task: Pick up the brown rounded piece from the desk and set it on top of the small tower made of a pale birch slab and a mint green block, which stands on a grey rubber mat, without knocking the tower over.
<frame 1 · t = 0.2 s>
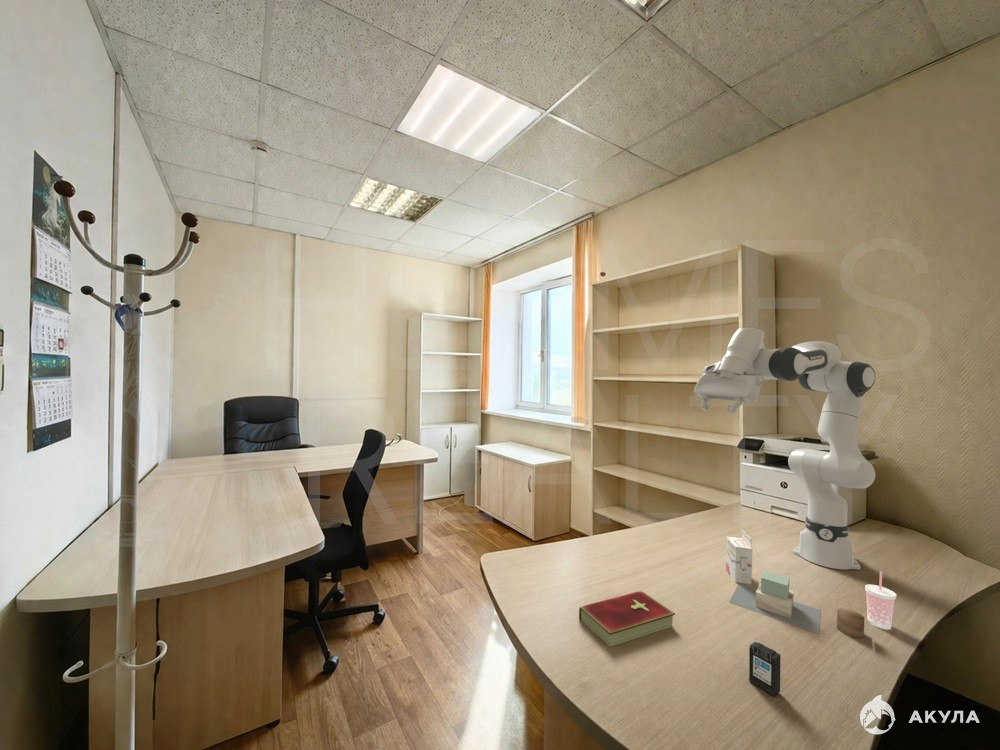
hand: (716, 410, 124), 54 cm above the table, tool tilted 30°, fingers open, 8 cm apart
mat: (774, 607, 112), on the table
brown rounded piece: (850, 633, 102), on the table
ink cartridge box: (737, 579, 129), on the table
beverage cup: (879, 624, 107), on the table
base slab: (774, 606, 112), resting on mat, touching mint green block
mint green block: (775, 591, 112), point 4 cm above the table, touching base slab
hardcover book: (626, 625, 103), on the table
ink cartridge: (763, 688, 83), on the table
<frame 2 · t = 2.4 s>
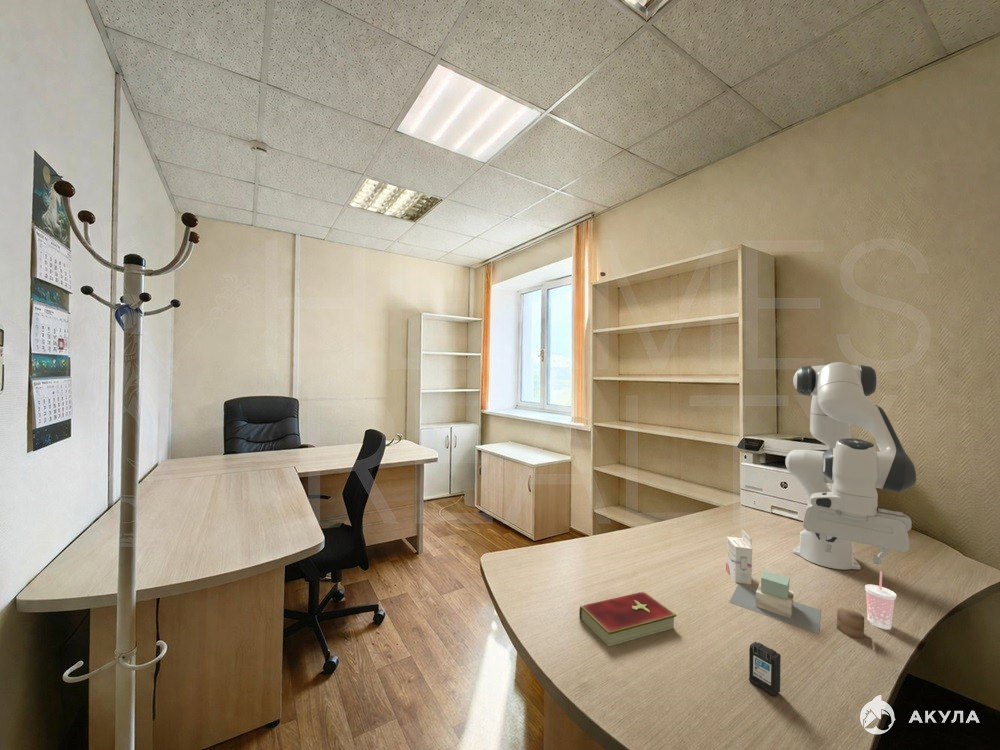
hand: (851, 557, 102), 19 cm above the table, tool pointing down, fingers open, 8 cm apart
nothing on the table moved.
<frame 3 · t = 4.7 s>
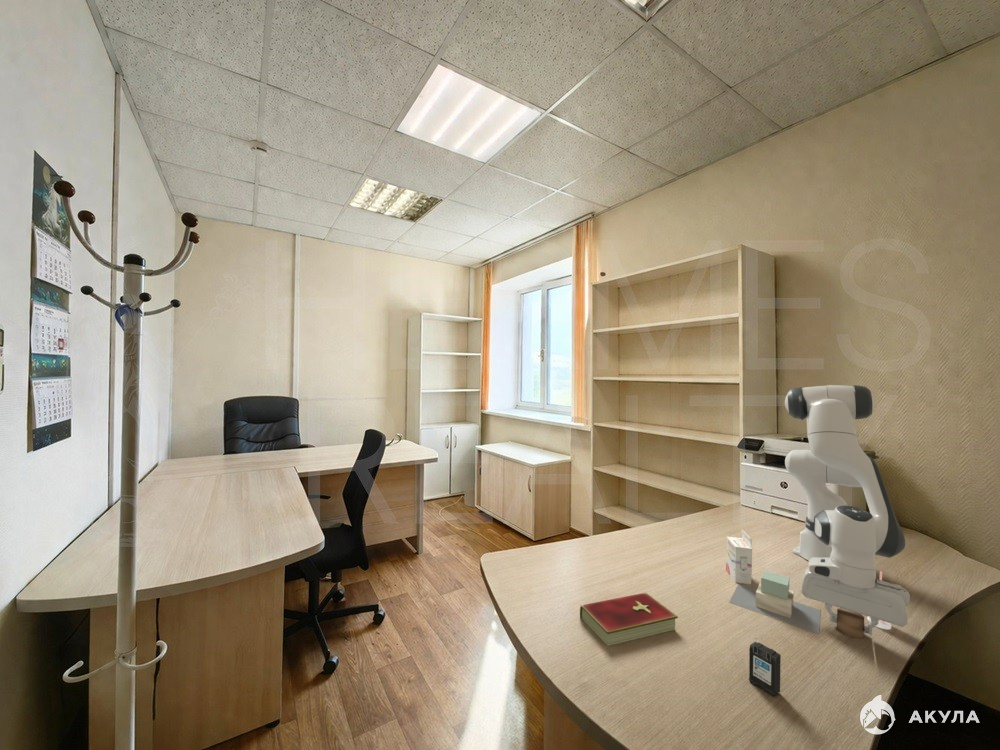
hand: (850, 626, 102), 2 cm above the table, tool pointing down, fingers closed on brown rounded piece, 5 cm apart
brown rounded piece: (849, 633, 102), on the table, touching gripper
everything else where it was.
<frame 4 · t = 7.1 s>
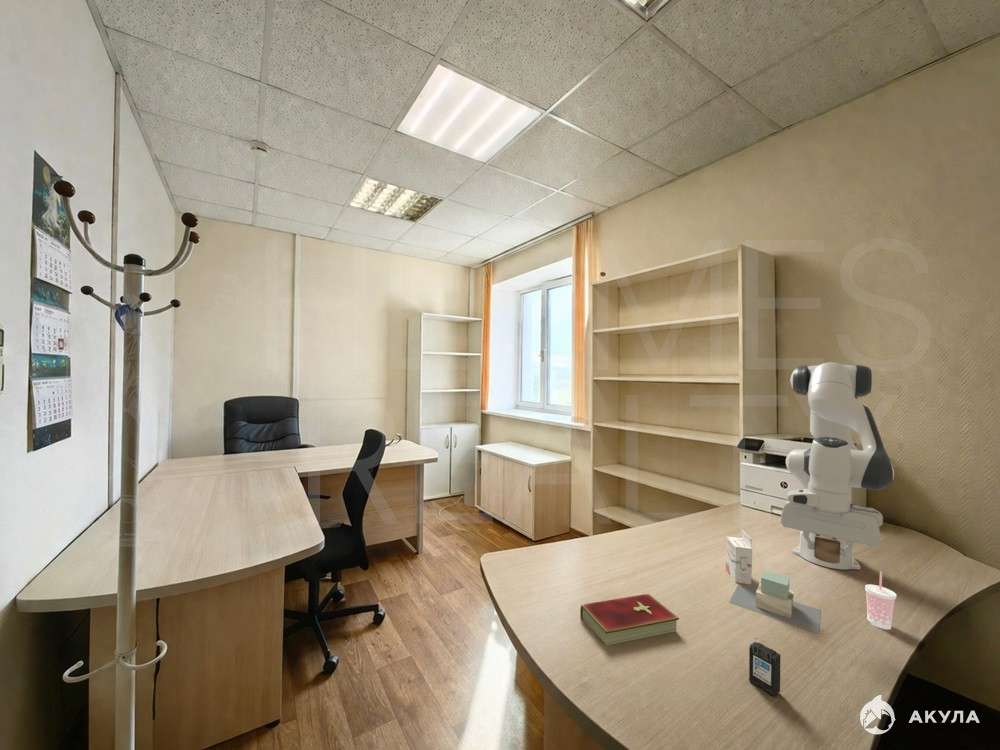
hand: (826, 552, 105), 19 cm above the table, tool pointing down, fingers closed on brown rounded piece, 5 cm apart
brown rounded piece: (826, 558, 105), point 17 cm above the table, touching gripper
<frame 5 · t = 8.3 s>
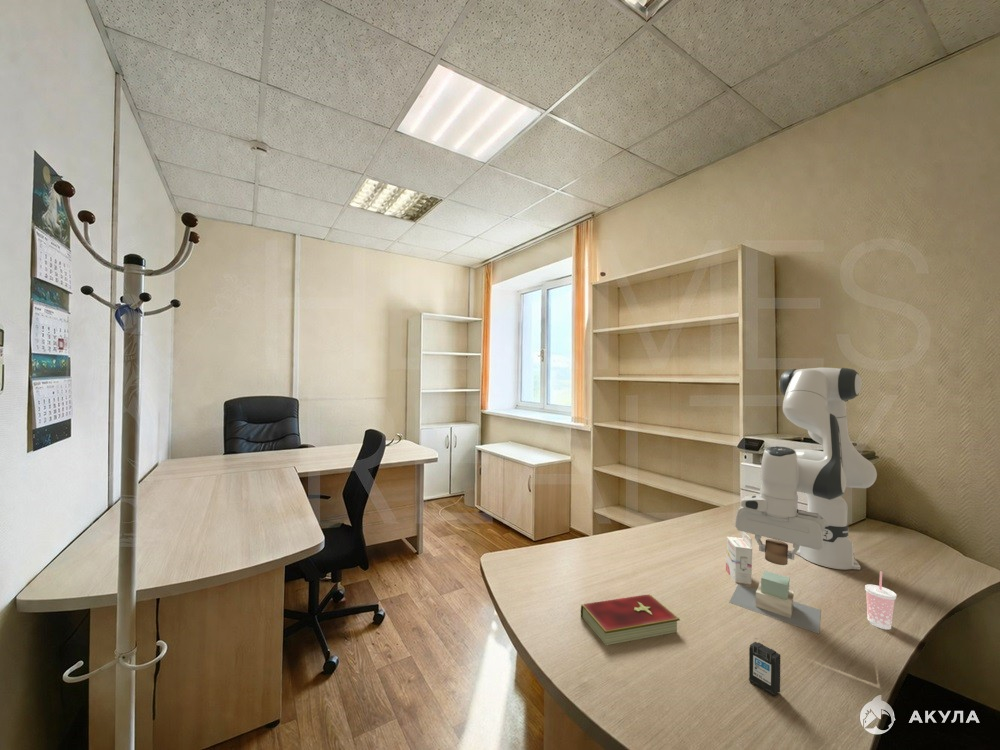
hand: (776, 554, 112), 15 cm above the table, tool pointing down, fingers closed on brown rounded piece, 5 cm apart
brown rounded piece: (776, 560, 112), point 13 cm above the table, touching gripper
when the fingers open (11 cm above the table, at t = 9.5 s): brown rounded piece stays where it is, resting on mint green block.
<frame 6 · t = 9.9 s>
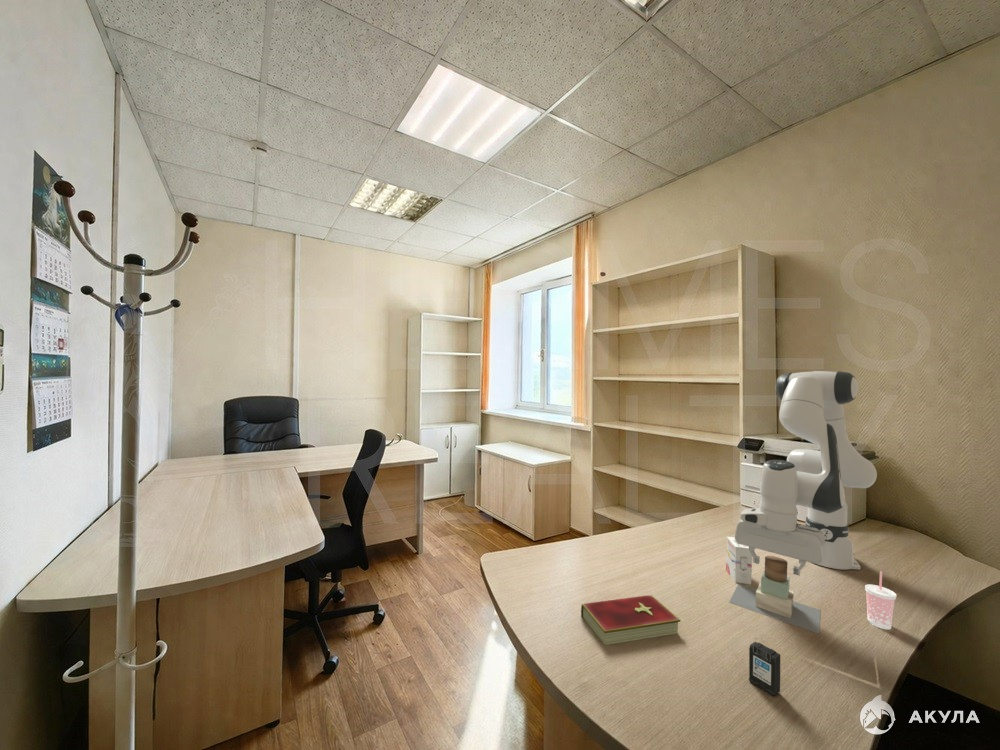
hand: (775, 568, 112), 11 cm above the table, tool pointing down, fingers open, 8 cm apart
brown rounded piece: (775, 577, 112), point 8 cm above the table, touching mint green block
mint green block: (775, 591, 112), point 4 cm above the table, touching base slab, brown rounded piece
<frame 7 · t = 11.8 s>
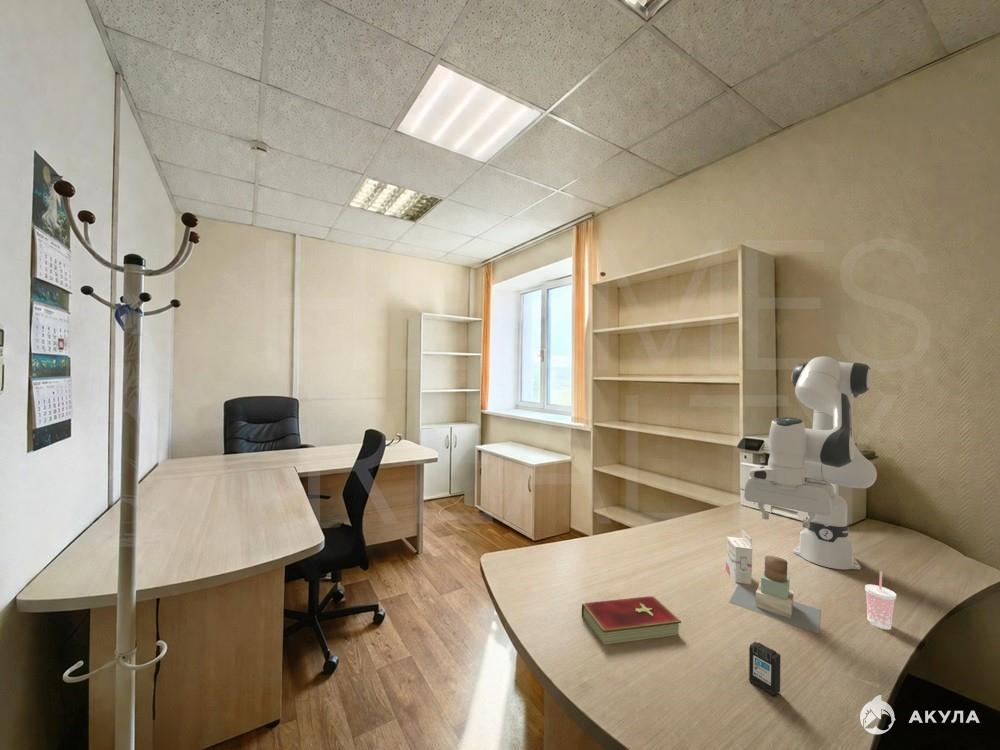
hand: (785, 523, 114), 23 cm above the table, tool pointing down, fingers open, 8 cm apart
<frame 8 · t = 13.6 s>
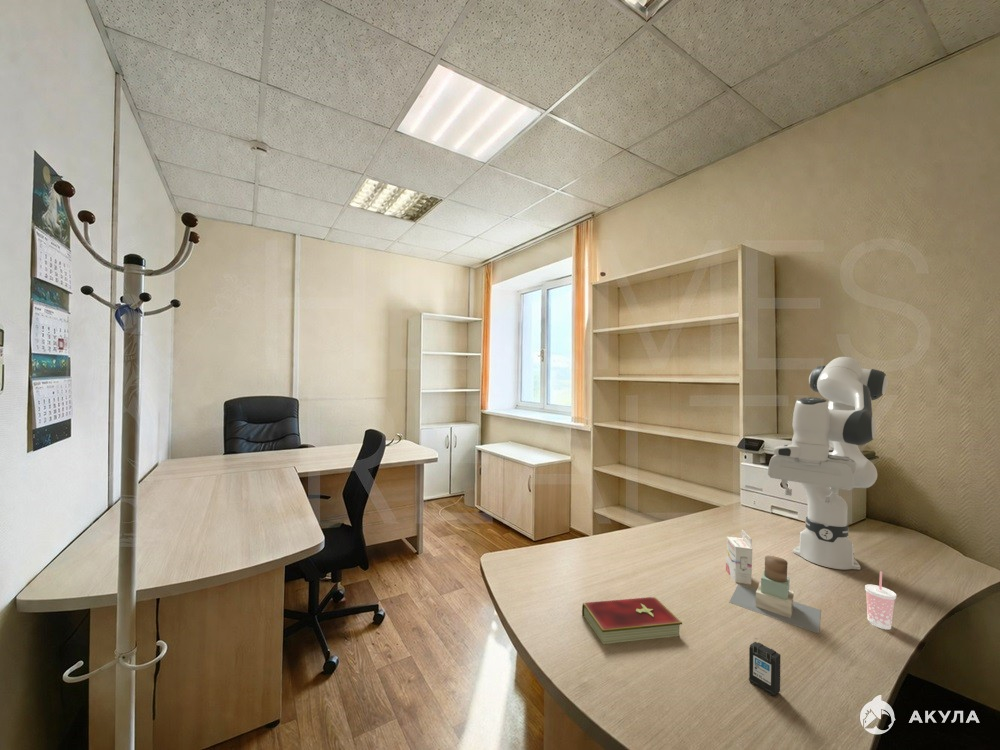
hand: (808, 498, 119), 29 cm above the table, tool pointing down, fingers open, 8 cm apart
at the end: brown rounded piece 0.0 cm off-centre on the mint green block, point 4.0 cm above the mint green block's base; mint green block 0.0 cm off-centre on the base slab, point 4.0 cm above the base slab's base; base slab moved 0.0 cm from its start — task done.
